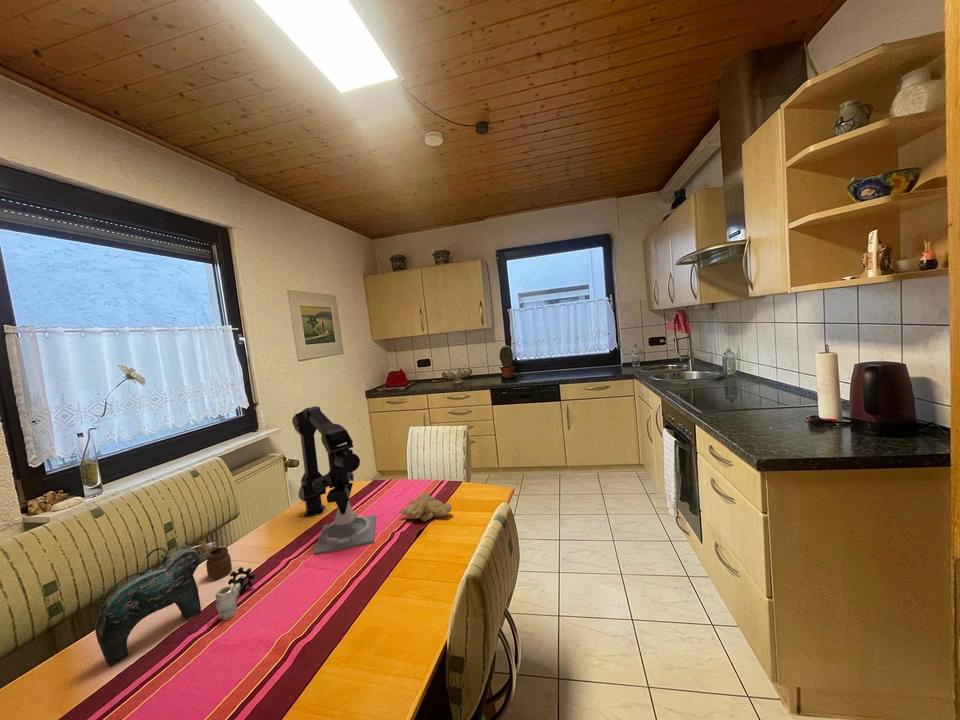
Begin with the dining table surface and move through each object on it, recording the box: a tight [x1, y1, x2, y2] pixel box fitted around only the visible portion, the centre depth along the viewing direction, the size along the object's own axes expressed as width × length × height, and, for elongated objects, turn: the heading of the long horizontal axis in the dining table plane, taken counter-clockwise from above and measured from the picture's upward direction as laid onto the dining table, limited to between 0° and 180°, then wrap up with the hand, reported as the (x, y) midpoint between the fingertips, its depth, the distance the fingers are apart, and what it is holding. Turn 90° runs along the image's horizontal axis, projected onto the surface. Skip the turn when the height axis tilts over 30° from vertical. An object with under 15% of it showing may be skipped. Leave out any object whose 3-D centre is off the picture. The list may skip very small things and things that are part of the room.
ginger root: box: [399, 491, 452, 522], centre depth 137 cm, size 16×16×8 cm
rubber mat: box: [312, 515, 377, 556], centre depth 129 cm, size 18×18×1 cm
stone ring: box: [322, 515, 371, 546], centre depth 129 cm, size 15×15×2 cm
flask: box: [333, 501, 357, 526], centre depth 129 cm, size 7×7×10 cm
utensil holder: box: [200, 534, 233, 581], centre depth 113 cm, size 6×6×12 cm
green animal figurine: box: [94, 541, 202, 667], centre depth 90 cm, size 20×6×20 cm, turn 150°
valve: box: [214, 566, 257, 621], centre depth 99 cm, size 7×7×12 cm
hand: (344, 510), depth 129 cm, fingers closed on flask, 5 cm apart
